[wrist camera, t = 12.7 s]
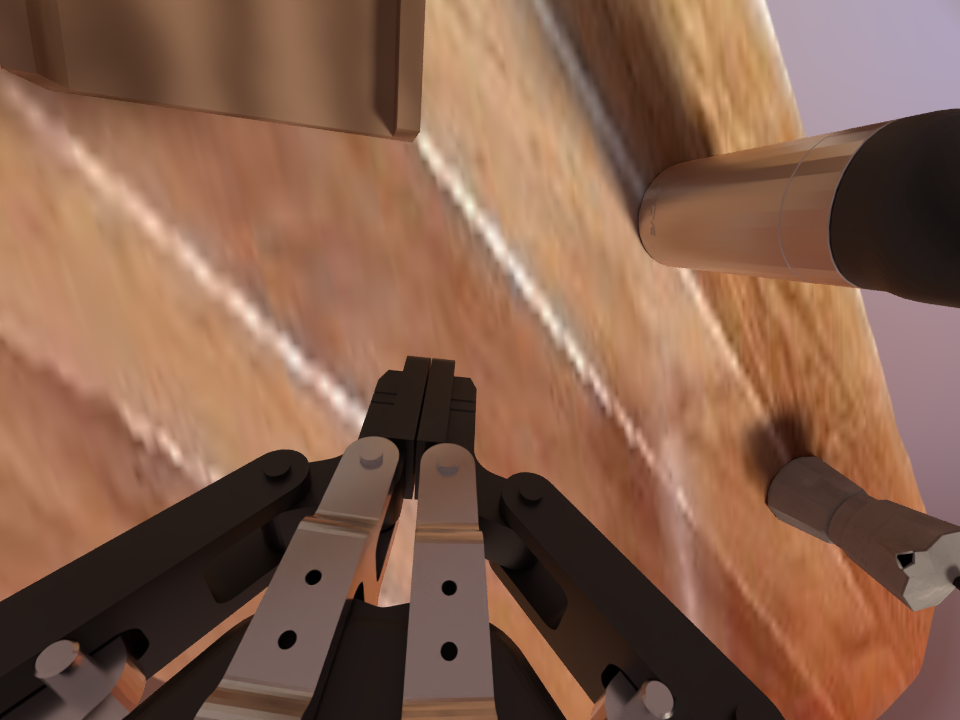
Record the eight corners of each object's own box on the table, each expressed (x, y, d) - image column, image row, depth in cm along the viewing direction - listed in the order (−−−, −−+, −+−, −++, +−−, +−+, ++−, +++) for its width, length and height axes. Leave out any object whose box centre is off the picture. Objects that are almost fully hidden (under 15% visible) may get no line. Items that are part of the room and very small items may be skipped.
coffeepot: (742, 507, 54) (914, 630, 38) (780, 440, 53) (977, 537, 36) (817, 531, 60) (996, 647, 43) (853, 471, 58) (1053, 567, 42)
